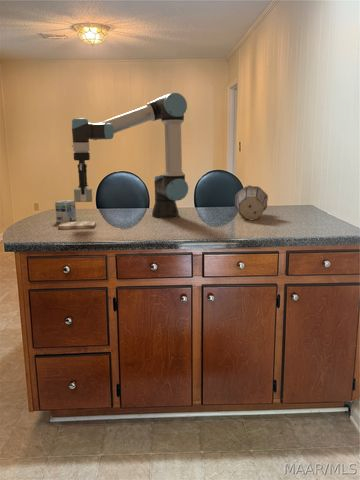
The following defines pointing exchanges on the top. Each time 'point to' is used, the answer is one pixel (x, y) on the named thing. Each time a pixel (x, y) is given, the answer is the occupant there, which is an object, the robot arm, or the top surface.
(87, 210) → the top surface
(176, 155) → the robot arm
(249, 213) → the faceted geometric planter
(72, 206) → the light bulb box
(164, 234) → the top surface
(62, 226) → the board
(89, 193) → the block
